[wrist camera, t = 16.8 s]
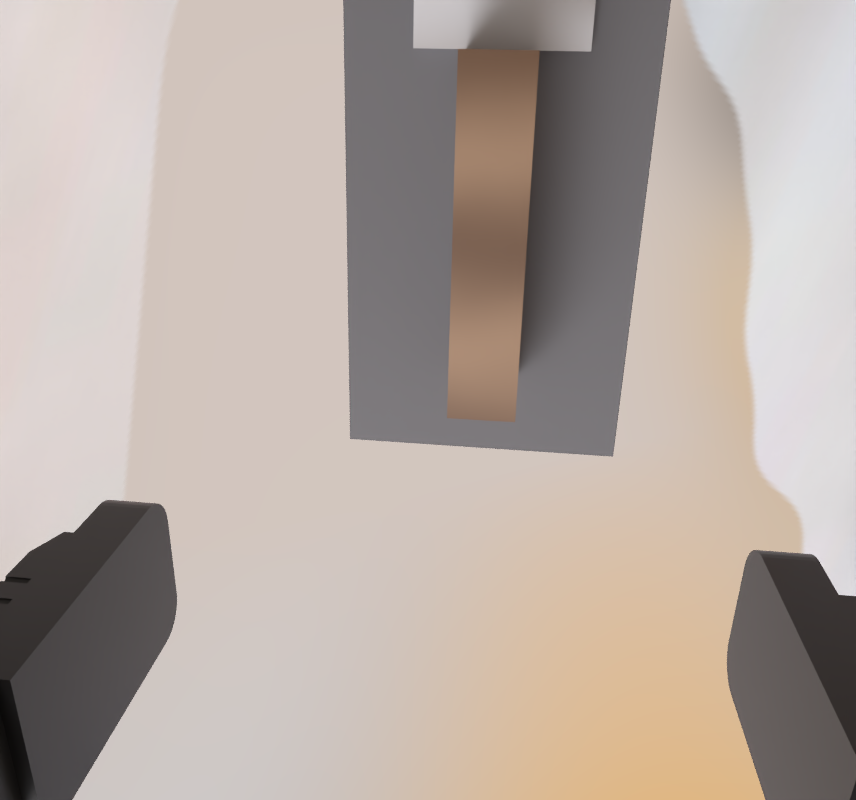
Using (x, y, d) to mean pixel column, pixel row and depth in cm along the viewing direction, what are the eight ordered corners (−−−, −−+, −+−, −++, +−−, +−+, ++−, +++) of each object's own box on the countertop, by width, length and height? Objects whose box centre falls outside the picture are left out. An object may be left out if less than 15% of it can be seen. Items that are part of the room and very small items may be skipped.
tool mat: (344, -179, 26) (340, -184, 26) (690, -179, 26) (694, -184, 25) (353, 432, 35) (350, 438, 35) (611, 450, 34) (612, 456, 34)
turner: (561, 378, 33) (566, 425, 28) (411, 369, 33) (396, 415, 29) (615, -236, 25) (634, -294, 21) (418, -234, 25) (398, -290, 21)
